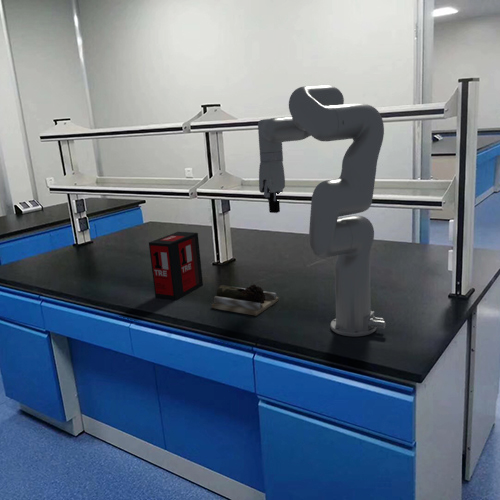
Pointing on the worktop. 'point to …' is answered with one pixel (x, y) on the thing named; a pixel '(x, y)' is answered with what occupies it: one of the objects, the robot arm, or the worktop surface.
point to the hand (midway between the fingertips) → (274, 212)
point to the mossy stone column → (242, 293)
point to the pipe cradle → (245, 304)
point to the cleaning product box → (176, 265)
